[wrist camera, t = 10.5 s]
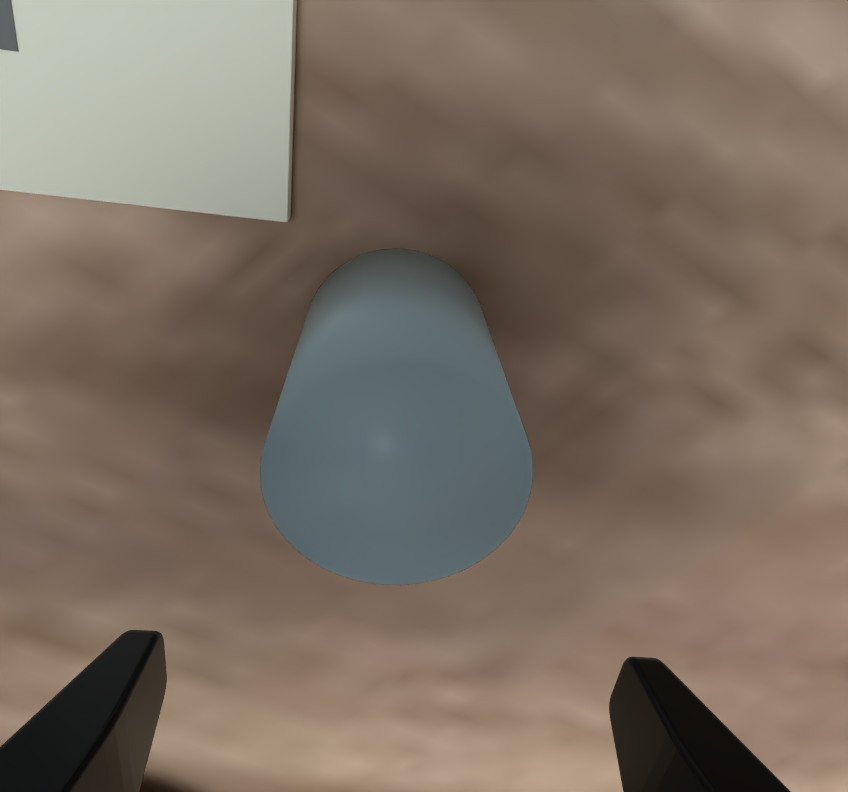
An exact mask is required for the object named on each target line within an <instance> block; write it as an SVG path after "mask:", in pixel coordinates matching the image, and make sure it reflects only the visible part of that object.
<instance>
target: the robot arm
mask: <svg viewBox="0 0 848 792" xmlns="http://www.w3.org/2000/svg"><path fill="white" fill-rule="evenodd" d="M166 682H167V673H166V661H165V649H164V639H163V636H162V634H161V633H160V632H157V631H145V630H129V631H127V632H125V633H123V634H122V635H121V636H120V637H119V638H117V639H116V640H115V641H114V642H113V643H112V644H111V645H110V646H109V647H108V648H107V649H106V650H104V651H103V652H102V653H101V654H100V655H99V656H98V657H97V658H96V659H95V660H94V661H93V662H92V663H90V664H89V665H88V666H87V667H86V668H85V669H84V670H83V671H82V672H81V673H80V674H79V675H77V676H76V677H75V678H74V679H73V680H72V681H71V682H70V683H69V684H68V685H67V686H66V687H65V688H63V689H62V690H61V691H60V692H59V693H58V694H57V695H56V696H55V697H54V698H53V699H52V700H50V701H49V702H48V703H47V704H46V705H45V706H44V707H43V708H42V709H41V710H40V711H39V712H38V713H36V714H35V715H34V716H33V717H32V718H31V719H30V720H29V721H28V722H27V723H26V724H25V725H23V726H22V727H21V728H20V729H19V730H18V731H17V732H16V733H15V734H14V735H13V736H12V737H11V738H9V739H8V740H7V741H6V742H5V743H4V744H3V745H2V746H1V747H0V792H139V791H140V787H141V783H142V779H143V776H144V772H145V768H146V764H147V760H148V756H149V753H150V749H151V745H152V741H153V737H154V733H155V730H156V726H157V722H158V718H159V714H160V711H161V707H162V703H163V699H164V695H165V690H166ZM609 712H610V720H611V726H612V731H613V737H614V742H615V748H616V753H617V759H618V764H619V770H620V775H621V781H622V787H623V792H790V791H789V790H788V789H787V788H786V787H785V786H784V784H783V783H782V782H781V781H780V780H779V779H778V778H777V777H776V776H775V775H774V774H773V773H772V772H771V771H770V770H769V769H768V768H767V767H766V766H765V765H764V764H763V763H762V762H761V761H760V760H759V759H758V758H757V757H756V756H755V755H754V754H753V753H752V752H751V751H750V750H749V749H748V748H747V747H746V746H745V745H744V744H743V743H742V742H741V741H740V740H739V739H738V738H737V737H736V736H735V735H734V734H733V733H732V732H731V731H730V730H729V729H728V728H727V727H726V726H725V725H724V724H723V723H722V722H721V721H720V720H719V719H718V718H717V717H716V716H715V715H714V714H713V713H712V712H711V711H710V710H709V709H708V708H707V707H706V706H705V705H704V704H703V703H702V702H701V701H700V700H699V699H698V698H697V697H696V696H695V694H694V693H693V692H692V691H691V690H690V689H689V688H688V687H687V686H686V685H685V684H684V683H683V682H682V681H681V680H680V679H679V678H678V677H677V676H676V675H675V674H674V673H673V672H672V671H671V670H670V669H669V668H668V667H667V666H666V665H665V664H664V663H663V662H661V661H660V660H658V659H656V658H646V657H629V658H627V659H626V660H625V661H624V663H623V666H622V668H621V671H620V673H619V676H618V679H617V681H616V684H615V686H614V689H613V692H612V694H611V698H610V703H609Z"/></svg>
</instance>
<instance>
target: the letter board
mask: <svg viewBox="0 0 848 792" xmlns="http://www.w3.org/2000/svg"><path fill="white" fill-rule="evenodd" d="M296 13H297V0H0V190H8V191H16V192H25V193H34V194H43V195H51V196H60V197H69V198H78V199H86V200H95V201H104V202H113V203H121V204H130V205H139V206H148V207H156V208H165V209H174V210H183V211H191V212H200V213H209V214H218V215H226V216H235V217H244V218H253V219H261V220H270V221H279V222H288V220H289V219H290V216H291V182H292V148H293V115H294V81H295V47H296Z"/></svg>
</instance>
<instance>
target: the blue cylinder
mask: <svg viewBox="0 0 848 792" xmlns="http://www.w3.org/2000/svg"><path fill="white" fill-rule="evenodd" d="M260 481H261V490H262V494H263V499H264V502H265V505H266V507H267V510H268V512H269V515H270V517H271V519H272V520H273V522H274V524H275V525H276V527H277V529H278V530H279V531H280V533H281V534H282V535H283V536H284V538H285V539H286V540H287V541H288V542H289V543H290V544H291V545H292V546H293V547H294V548H295V549H296V550H297V551H298V552H299V553H301V554H302V555H303V556H305V557H306V558H307V559H309V560H310V561H312V562H313V563H315V564H317V565H318V566H320V567H322V568H324V569H326V570H328V571H330V572H333V573H335V574H337V575H340V576H343V577H346V578H349V579H352V580H356V581H361V582H366V583H372V584H381V585H409V584H419V583H424V582H429V581H434V580H438V579H441V578H444V577H448V576H450V575H453V574H455V573H458V572H460V571H463V570H465V569H467V568H468V567H470V566H472V565H474V564H476V563H478V562H479V561H480V560H482V559H483V558H485V557H486V556H488V555H489V554H490V553H492V552H493V551H494V550H495V549H496V548H497V547H498V546H499V545H501V544H502V543H503V541H504V540H505V539H506V538H507V537H508V536H509V535H510V534H511V532H512V531H513V529H514V528H515V526H516V525H517V523H518V522H519V520H520V518H521V516H522V514H523V512H524V510H525V508H526V506H527V503H528V500H529V497H530V494H531V488H532V482H533V461H532V454H531V449H530V446H529V443H528V439H527V436H526V433H525V430H524V428H523V425H522V422H521V419H520V416H519V414H518V411H517V408H516V405H515V402H514V399H513V397H512V394H511V391H510V388H509V385H508V383H507V380H506V377H505V374H504V371H503V368H502V366H501V363H500V360H499V357H498V354H497V352H496V349H495V346H494V343H493V340H492V337H491V335H490V332H489V329H488V326H487V323H486V321H485V318H484V315H483V312H482V309H481V306H480V304H479V301H478V299H477V297H476V295H475V293H474V292H473V290H472V289H471V287H470V286H469V284H468V283H467V282H466V281H465V279H464V278H463V277H462V276H461V275H460V274H459V273H458V272H457V271H455V270H454V269H453V268H452V267H450V266H449V265H447V264H446V263H444V262H443V261H441V260H439V259H437V258H435V257H433V256H431V255H428V254H425V253H421V252H418V251H413V250H407V249H384V250H377V251H373V252H368V253H366V254H363V255H360V256H357V257H355V258H353V259H351V260H349V261H347V262H346V263H344V264H343V265H341V266H340V267H339V268H337V269H336V270H335V271H334V272H333V273H332V274H331V275H329V276H328V277H327V279H326V280H325V281H324V282H323V283H322V285H321V286H320V288H319V289H318V291H317V292H316V294H315V296H314V298H313V300H312V303H311V305H310V308H309V311H308V314H307V317H306V320H305V323H304V326H303V329H302V332H301V335H300V338H299V341H298V344H297V347H296V350H295V353H294V356H293V359H292V362H291V365H290V368H289V372H288V375H287V378H286V381H285V384H284V387H283V390H282V393H281V396H280V399H279V402H278V405H277V408H276V411H275V414H274V417H273V420H272V423H271V426H270V429H269V432H268V435H267V438H266V441H265V445H264V449H263V453H262V457H261V466H260Z"/></svg>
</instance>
